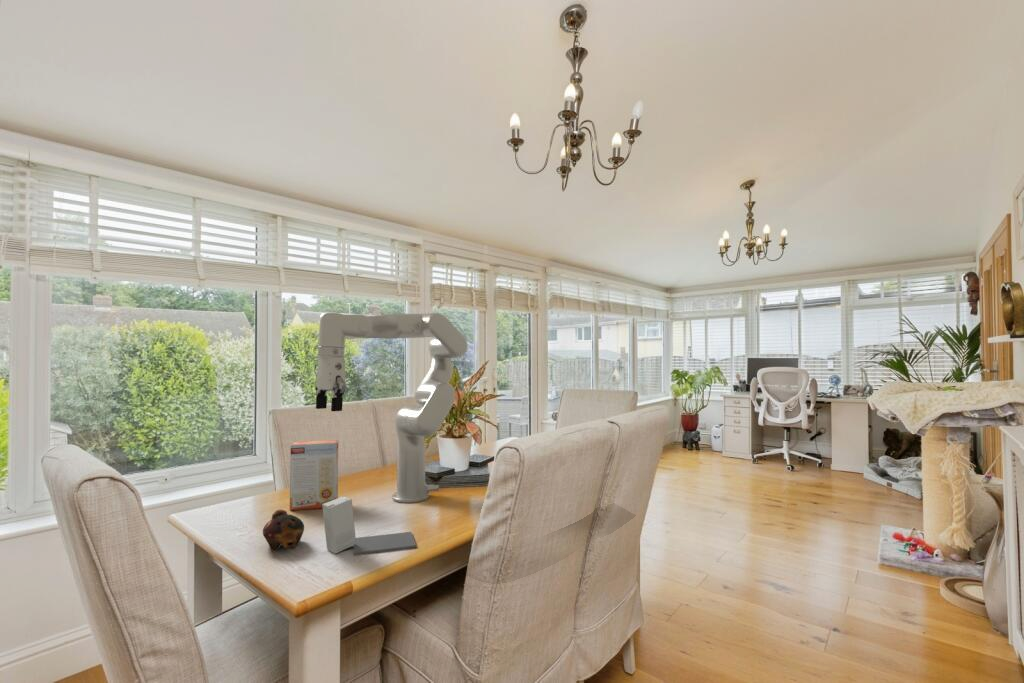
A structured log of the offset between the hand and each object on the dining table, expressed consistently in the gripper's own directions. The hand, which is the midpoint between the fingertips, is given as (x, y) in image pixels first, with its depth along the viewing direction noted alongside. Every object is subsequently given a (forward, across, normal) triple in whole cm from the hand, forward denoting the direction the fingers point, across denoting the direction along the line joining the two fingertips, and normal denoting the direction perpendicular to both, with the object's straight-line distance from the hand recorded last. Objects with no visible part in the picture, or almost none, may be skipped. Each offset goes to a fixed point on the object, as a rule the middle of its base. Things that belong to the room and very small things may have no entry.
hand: (328, 409), depth 143 cm
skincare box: (+33, -25, +7) cm, 41 cm away
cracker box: (+33, +14, -4) cm, 36 cm away
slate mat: (+32, -30, -2) cm, 44 cm away
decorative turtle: (+33, -12, +16) cm, 39 cm away
